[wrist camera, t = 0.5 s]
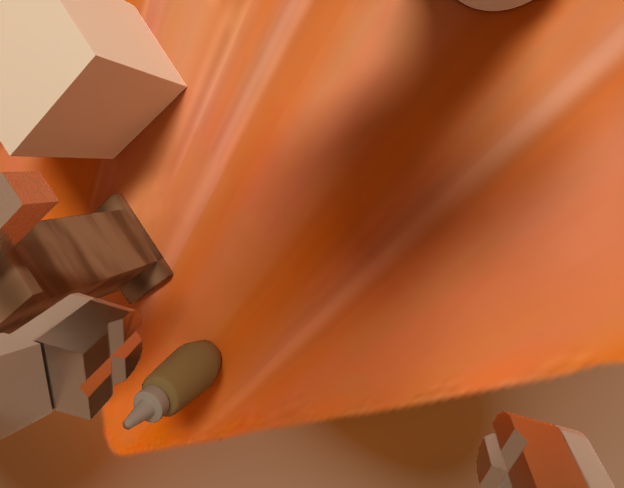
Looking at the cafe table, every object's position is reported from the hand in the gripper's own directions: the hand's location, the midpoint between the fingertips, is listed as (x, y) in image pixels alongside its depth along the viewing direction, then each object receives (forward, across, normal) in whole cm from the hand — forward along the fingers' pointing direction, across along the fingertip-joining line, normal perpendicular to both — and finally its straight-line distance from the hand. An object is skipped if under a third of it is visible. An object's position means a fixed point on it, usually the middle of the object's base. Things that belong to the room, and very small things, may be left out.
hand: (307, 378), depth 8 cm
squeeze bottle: (+39, +18, +41) cm, 59 cm away
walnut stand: (+44, +34, +25) cm, 61 cm away
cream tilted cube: (+49, +39, +2) cm, 63 cm away
